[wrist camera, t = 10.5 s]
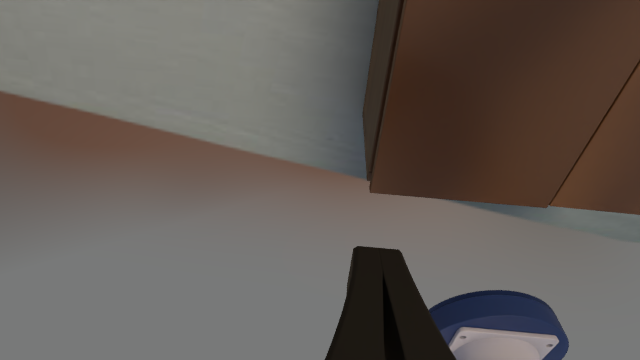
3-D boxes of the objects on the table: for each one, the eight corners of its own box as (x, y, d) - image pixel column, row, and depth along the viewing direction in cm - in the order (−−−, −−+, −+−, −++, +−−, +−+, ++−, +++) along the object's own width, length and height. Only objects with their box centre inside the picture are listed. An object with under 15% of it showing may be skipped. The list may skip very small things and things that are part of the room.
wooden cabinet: (841, -186, 11) (1309, -285, 6) (620, 135, 18) (733, 225, 13) (409, -213, 11) (464, -331, 6) (362, 114, 19) (367, 194, 13)
